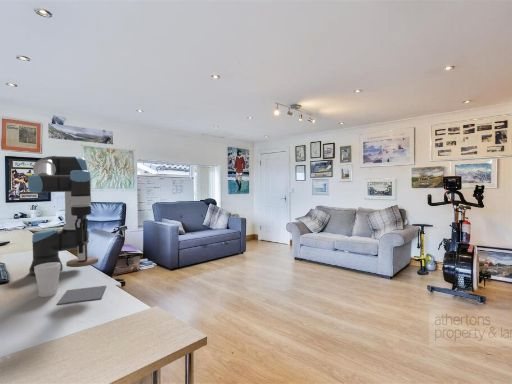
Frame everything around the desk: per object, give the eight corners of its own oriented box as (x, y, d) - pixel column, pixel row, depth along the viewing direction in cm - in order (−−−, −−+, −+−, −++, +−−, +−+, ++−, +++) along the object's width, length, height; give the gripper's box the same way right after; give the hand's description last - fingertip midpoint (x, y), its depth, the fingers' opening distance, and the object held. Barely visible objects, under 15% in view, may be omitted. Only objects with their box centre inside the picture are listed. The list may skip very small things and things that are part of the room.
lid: (70, 260, 130) (69, 240, 129) (100, 258, 134) (99, 239, 133) (62, 268, 118) (62, 246, 118) (95, 265, 123) (95, 244, 122)
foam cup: (47, 299, 122) (46, 268, 122) (29, 297, 124) (28, 267, 123) (66, 290, 131) (65, 262, 131) (49, 289, 133) (48, 261, 133)
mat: (67, 291, 131) (67, 290, 131) (106, 286, 137) (106, 285, 137) (56, 305, 116) (56, 303, 116) (101, 299, 122) (101, 298, 122)
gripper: (75, 204, 132) (77, 255, 132) (66, 207, 116) (67, 265, 117) (94, 204, 134) (95, 253, 135) (87, 207, 119) (88, 263, 120)
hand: (82, 258), depth 126 cm, fingers closed on lid, 3 cm apart
